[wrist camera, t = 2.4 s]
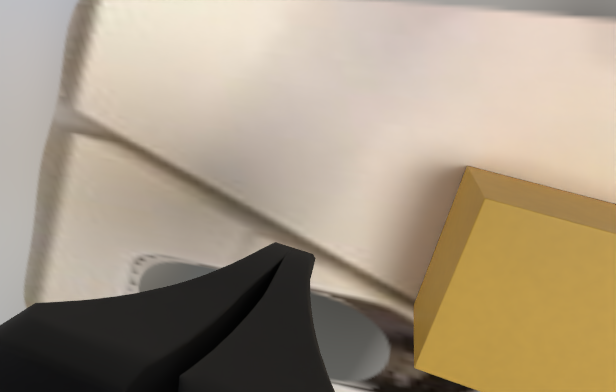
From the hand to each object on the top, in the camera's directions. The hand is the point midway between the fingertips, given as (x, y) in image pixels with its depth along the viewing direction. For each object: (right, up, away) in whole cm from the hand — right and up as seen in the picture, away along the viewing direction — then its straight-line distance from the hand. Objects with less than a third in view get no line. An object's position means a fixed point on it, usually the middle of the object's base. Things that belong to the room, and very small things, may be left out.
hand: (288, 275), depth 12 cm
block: (+10, -1, +4) cm, 10 cm away
